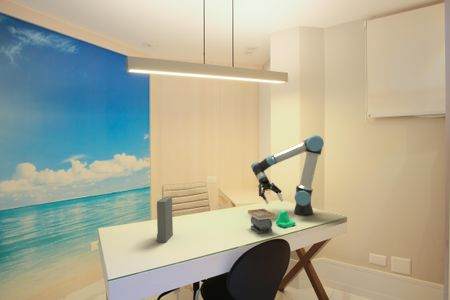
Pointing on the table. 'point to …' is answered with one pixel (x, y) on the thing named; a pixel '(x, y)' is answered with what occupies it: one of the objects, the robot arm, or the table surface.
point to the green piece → (284, 220)
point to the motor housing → (261, 220)
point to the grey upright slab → (164, 219)
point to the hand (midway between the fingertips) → (275, 202)
